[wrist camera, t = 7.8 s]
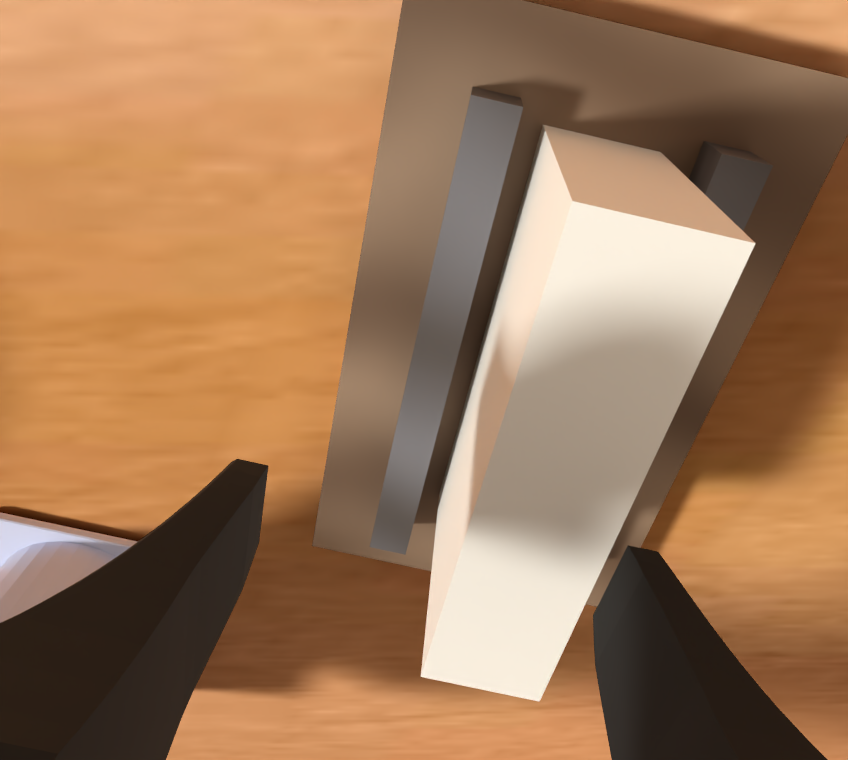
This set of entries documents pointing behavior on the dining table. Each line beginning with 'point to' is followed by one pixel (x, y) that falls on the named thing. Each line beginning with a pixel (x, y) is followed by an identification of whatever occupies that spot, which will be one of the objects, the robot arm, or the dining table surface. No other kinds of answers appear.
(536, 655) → the ivory slab
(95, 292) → the dining table surface
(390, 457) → the ledge board
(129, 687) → the robot arm
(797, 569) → the dining table surface
